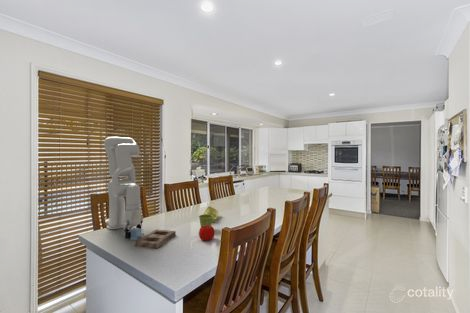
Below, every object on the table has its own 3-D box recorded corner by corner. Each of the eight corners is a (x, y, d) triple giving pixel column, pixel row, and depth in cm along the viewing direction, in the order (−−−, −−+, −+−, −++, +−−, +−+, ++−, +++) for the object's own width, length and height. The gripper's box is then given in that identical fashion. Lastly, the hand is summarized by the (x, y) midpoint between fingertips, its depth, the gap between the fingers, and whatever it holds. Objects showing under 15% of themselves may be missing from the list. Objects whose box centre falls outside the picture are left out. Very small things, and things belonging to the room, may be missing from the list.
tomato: (206, 235, 142) (206, 223, 142) (217, 239, 136) (217, 226, 136) (195, 240, 134) (195, 227, 134) (205, 243, 129) (205, 230, 129)
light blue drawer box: (123, 238, 136) (122, 228, 136) (127, 236, 140) (127, 225, 140) (139, 240, 134) (139, 229, 133) (143, 237, 137) (143, 227, 137)
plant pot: (215, 227, 156) (215, 214, 156) (210, 232, 147) (210, 218, 146) (201, 226, 158) (201, 213, 158) (196, 231, 149) (196, 217, 148)
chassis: (135, 246, 125) (135, 241, 125) (155, 233, 145) (155, 229, 145) (157, 248, 122) (157, 243, 122) (175, 235, 142) (175, 230, 142)
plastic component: (216, 220, 165) (203, 213, 165) (211, 229, 166) (199, 223, 166) (218, 210, 185) (207, 205, 185) (214, 218, 186) (203, 213, 186)
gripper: (136, 202, 145) (137, 230, 146) (117, 209, 129) (117, 240, 129) (147, 203, 144) (147, 231, 144) (129, 210, 127) (129, 241, 127)
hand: (133, 235), depth 137 cm, fingers open, 9 cm apart
